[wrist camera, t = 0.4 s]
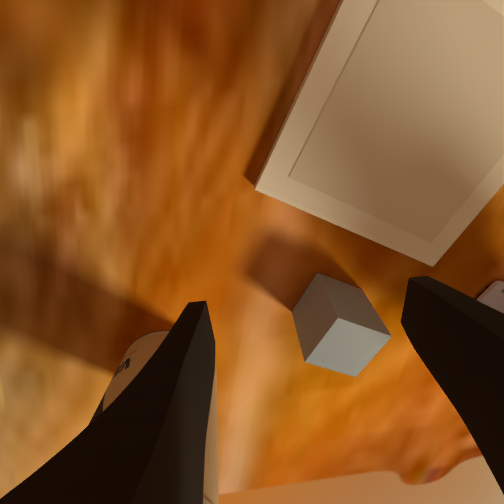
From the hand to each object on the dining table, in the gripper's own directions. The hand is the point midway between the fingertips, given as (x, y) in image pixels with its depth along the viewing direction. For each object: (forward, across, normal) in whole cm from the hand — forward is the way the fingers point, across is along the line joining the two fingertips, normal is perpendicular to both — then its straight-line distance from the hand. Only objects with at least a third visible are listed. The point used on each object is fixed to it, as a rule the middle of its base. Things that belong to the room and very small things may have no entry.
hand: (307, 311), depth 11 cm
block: (+10, -4, +8) cm, 13 cm away
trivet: (+10, -8, -4) cm, 14 cm away
